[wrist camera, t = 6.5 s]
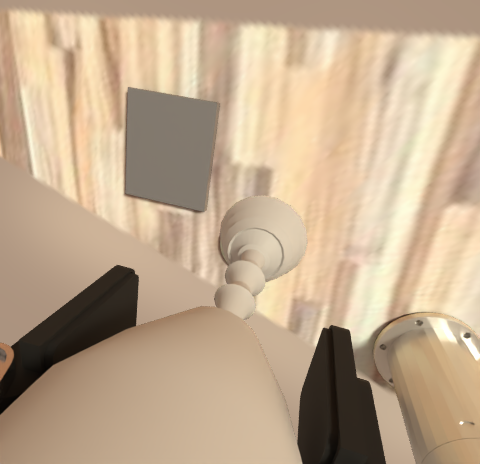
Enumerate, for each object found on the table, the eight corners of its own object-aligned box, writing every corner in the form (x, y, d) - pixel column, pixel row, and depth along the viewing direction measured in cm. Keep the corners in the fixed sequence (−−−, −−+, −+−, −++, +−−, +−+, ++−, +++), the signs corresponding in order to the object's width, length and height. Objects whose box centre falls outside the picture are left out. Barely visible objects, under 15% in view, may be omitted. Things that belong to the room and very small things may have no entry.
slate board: (220, 103, 37) (217, 102, 36) (206, 209, 42) (204, 211, 41) (132, 87, 38) (127, 87, 37) (129, 191, 43) (125, 193, 42)
